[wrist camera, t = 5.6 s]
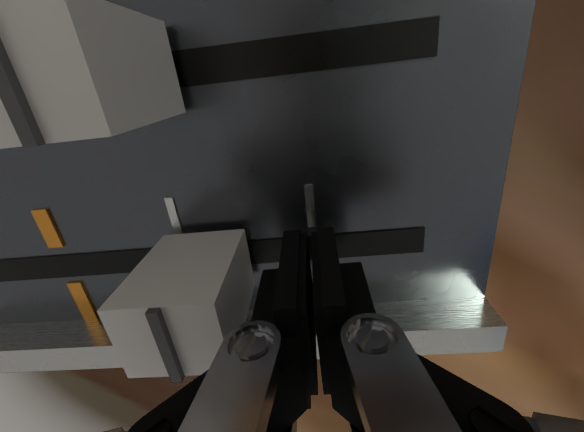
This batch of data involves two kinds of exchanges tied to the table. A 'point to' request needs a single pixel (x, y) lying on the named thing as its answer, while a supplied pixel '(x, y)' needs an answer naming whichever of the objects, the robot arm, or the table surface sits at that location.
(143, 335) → the fader far
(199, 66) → the console
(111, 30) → the fader near
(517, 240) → the table surface
